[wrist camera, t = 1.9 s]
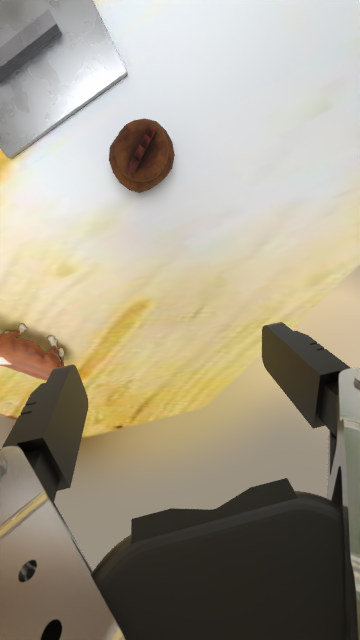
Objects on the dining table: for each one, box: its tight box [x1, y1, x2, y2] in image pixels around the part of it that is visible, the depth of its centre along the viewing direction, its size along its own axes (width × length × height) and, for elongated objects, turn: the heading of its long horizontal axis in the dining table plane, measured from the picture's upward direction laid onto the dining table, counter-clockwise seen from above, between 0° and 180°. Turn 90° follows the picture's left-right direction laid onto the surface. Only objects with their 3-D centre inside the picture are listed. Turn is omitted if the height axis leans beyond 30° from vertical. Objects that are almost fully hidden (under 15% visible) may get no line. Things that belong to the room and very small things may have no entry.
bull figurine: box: [0, 323, 64, 380], centre depth 36 cm, size 4×13×8 cm, turn 50°
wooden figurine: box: [109, 119, 174, 193], centre depth 25 cm, size 7×6×15 cm
